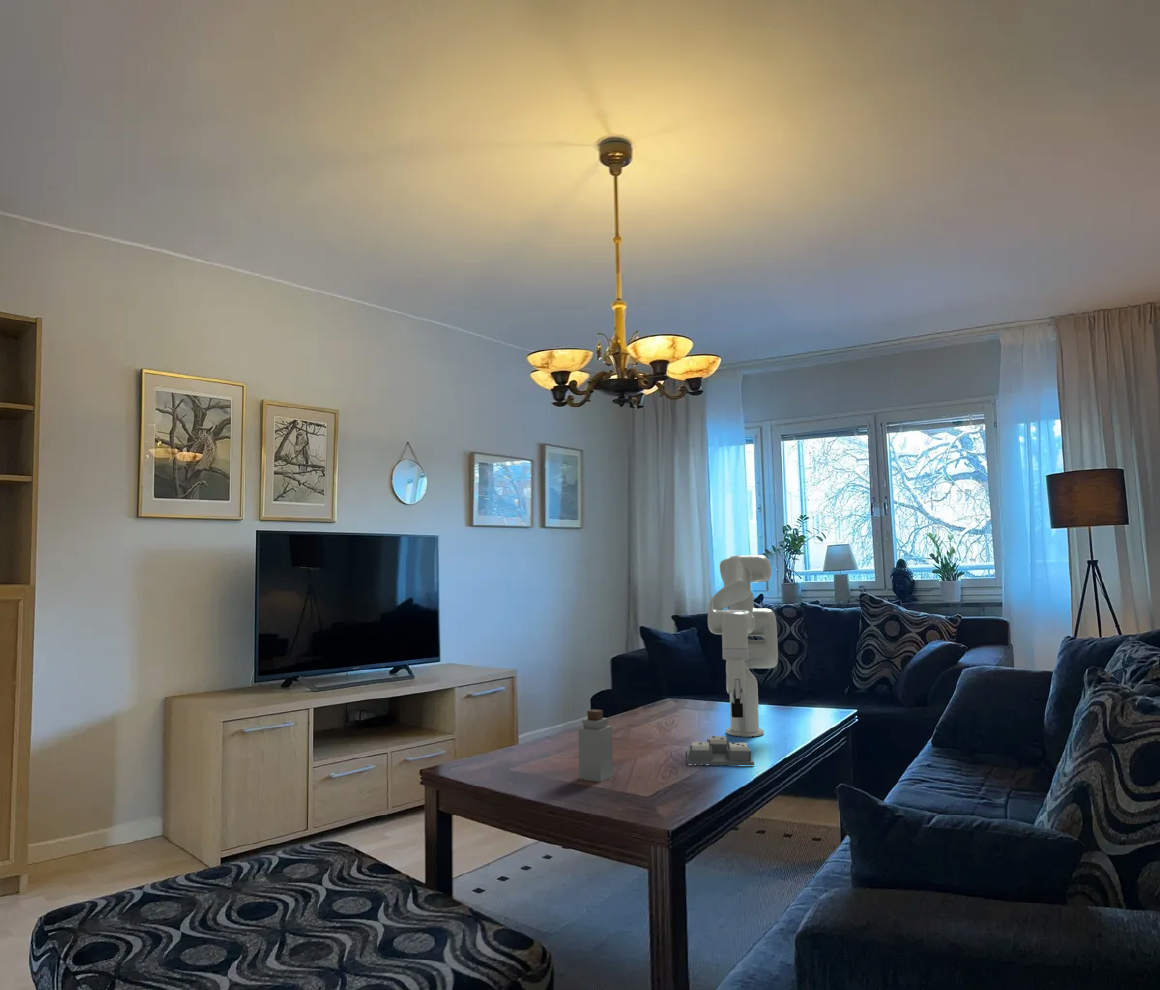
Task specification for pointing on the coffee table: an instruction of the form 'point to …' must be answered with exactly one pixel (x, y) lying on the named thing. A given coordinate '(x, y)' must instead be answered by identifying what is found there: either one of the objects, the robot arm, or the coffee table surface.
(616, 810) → the coffee table surface
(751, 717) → the robot arm
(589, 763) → the perfume bottle
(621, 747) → the coffee table surface
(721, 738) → the button two
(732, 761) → the button board
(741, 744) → the button three
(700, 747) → the button one
